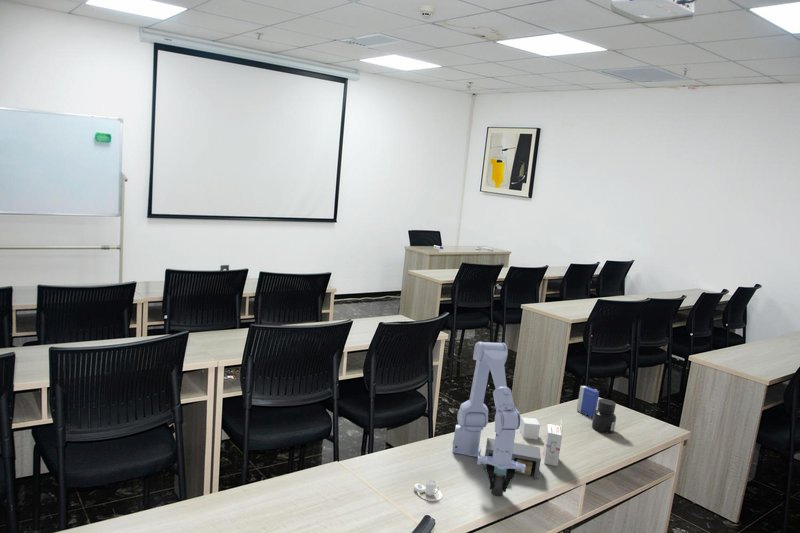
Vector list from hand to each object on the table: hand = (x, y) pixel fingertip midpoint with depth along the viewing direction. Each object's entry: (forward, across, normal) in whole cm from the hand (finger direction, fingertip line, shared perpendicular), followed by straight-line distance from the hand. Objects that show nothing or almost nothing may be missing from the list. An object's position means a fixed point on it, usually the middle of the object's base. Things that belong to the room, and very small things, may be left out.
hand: (497, 489), depth 181 cm
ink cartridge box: (+2, +18, +32) cm, 36 cm away
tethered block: (+2, 0, +7) cm, 7 cm away
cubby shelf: (+2, +4, +20) cm, 20 cm away
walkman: (+2, +37, +86) cm, 93 cm away
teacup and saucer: (+2, -21, -5) cm, 22 cm away
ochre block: (+2, +8, +20) cm, 22 cm away
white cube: (+2, +11, +50) cm, 52 cm away
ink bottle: (+2, +42, +70) cm, 82 cm away
